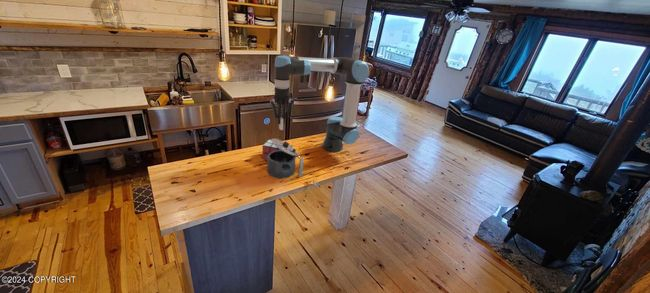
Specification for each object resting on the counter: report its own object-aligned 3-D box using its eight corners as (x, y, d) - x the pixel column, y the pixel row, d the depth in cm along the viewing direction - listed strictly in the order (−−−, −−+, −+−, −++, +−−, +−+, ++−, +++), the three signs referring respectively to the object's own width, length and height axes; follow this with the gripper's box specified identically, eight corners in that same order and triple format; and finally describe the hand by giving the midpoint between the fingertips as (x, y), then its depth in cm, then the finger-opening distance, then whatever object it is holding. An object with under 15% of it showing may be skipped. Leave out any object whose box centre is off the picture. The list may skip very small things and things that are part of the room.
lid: (291, 148, 169) (294, 143, 168) (301, 160, 156) (304, 155, 155) (267, 137, 158) (271, 131, 158) (275, 149, 145) (279, 143, 145)
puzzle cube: (277, 162, 172) (277, 148, 168) (262, 159, 173) (262, 145, 169) (282, 155, 181) (283, 141, 176) (268, 152, 182) (268, 139, 178)
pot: (291, 160, 175) (291, 144, 170) (302, 177, 159) (303, 159, 154) (263, 164, 167) (263, 147, 162) (272, 182, 151) (273, 164, 146)
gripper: (291, 85, 146) (289, 125, 156) (267, 85, 141) (267, 127, 151) (296, 88, 140) (294, 130, 150) (271, 89, 135) (271, 132, 145)
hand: (281, 129), depth 151 cm, fingers closed
